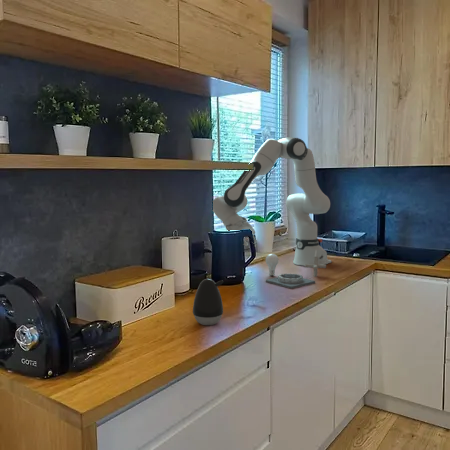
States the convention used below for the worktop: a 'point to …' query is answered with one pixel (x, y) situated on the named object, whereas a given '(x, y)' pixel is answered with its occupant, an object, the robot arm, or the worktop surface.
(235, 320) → the worktop surface
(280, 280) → the collar board
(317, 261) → the pipe connector
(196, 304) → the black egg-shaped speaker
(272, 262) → the lightbulb
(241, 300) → the worktop surface
